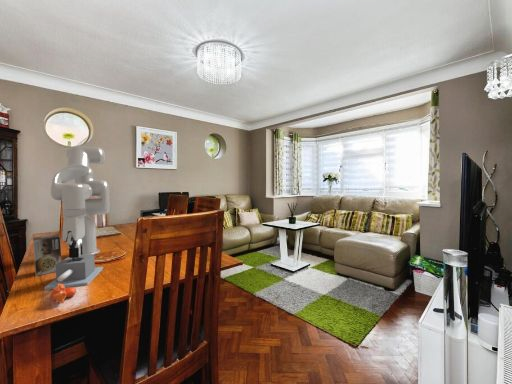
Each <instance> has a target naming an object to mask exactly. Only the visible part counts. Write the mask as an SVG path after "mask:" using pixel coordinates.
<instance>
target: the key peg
mask: <svg viewBox="0 0 512 384" xmlns="http://www.w3.org/2000/svg"><path fill="white" fill-rule="evenodd" d="M72 241H74V239H72ZM73 243H75V242H73ZM77 248H79V257H76V258H72V262H73V261H81V249H80V239H79V240H78V247H77Z"/></svg>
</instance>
